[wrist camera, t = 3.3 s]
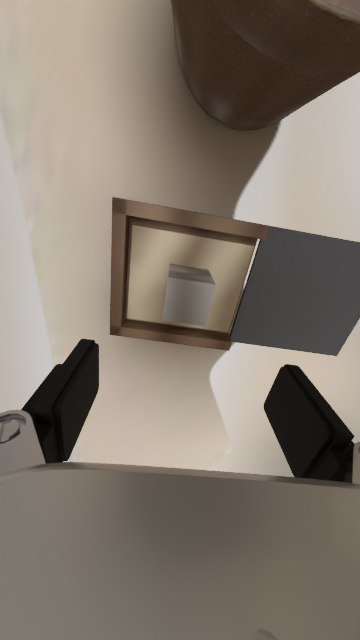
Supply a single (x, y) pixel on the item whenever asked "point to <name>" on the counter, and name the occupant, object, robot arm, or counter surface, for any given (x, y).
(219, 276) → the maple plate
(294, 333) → the black mat
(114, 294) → the walnut box
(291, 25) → the plant pot
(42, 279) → the counter surface
